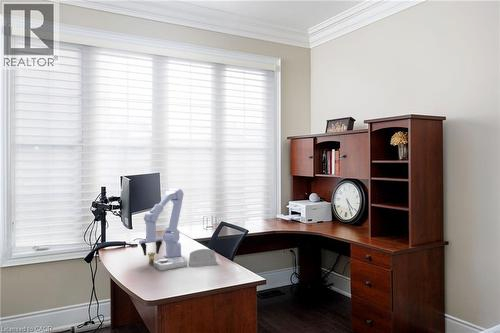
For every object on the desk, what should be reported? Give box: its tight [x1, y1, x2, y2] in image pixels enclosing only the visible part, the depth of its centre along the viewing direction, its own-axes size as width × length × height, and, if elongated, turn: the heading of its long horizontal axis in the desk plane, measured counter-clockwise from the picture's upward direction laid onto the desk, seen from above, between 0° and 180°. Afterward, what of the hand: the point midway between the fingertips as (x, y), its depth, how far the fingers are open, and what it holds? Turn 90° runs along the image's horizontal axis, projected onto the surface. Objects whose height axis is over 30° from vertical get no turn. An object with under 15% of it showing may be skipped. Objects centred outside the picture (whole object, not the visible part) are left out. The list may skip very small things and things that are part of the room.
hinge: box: [188, 248, 218, 268], centre depth 221 cm, size 17×5×10 cm, turn 107°
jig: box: [153, 256, 188, 272], centre depth 217 cm, size 16×12×3 cm
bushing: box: [147, 251, 156, 265], centre depth 224 cm, size 4×4×6 cm
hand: (151, 254), depth 224 cm, fingers open, 7 cm apart
